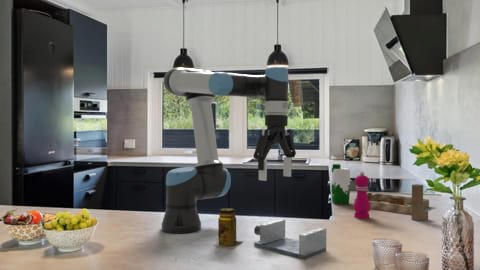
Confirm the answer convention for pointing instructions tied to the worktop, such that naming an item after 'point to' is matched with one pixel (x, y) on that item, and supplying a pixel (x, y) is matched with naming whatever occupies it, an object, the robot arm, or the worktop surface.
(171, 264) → the worktop surface
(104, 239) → the worktop surface
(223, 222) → the condiment
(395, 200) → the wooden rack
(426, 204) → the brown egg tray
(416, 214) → the wooden block
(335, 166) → the milk carton
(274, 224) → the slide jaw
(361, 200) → the pepper mill
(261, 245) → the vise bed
